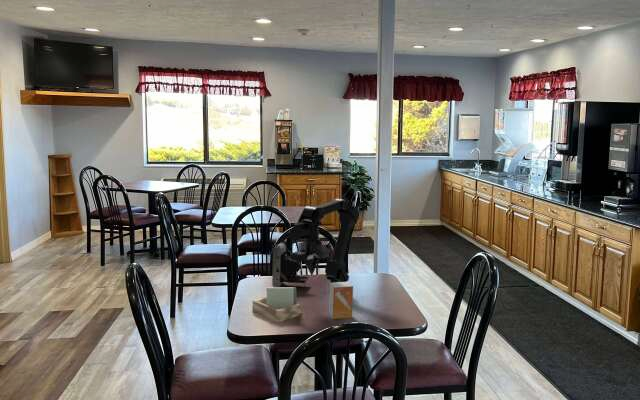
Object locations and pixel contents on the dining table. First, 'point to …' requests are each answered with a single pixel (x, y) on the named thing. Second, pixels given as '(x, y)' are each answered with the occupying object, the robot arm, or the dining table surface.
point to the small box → (340, 300)
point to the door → (281, 297)
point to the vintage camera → (285, 267)
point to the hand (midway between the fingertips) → (311, 273)
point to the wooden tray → (275, 310)
